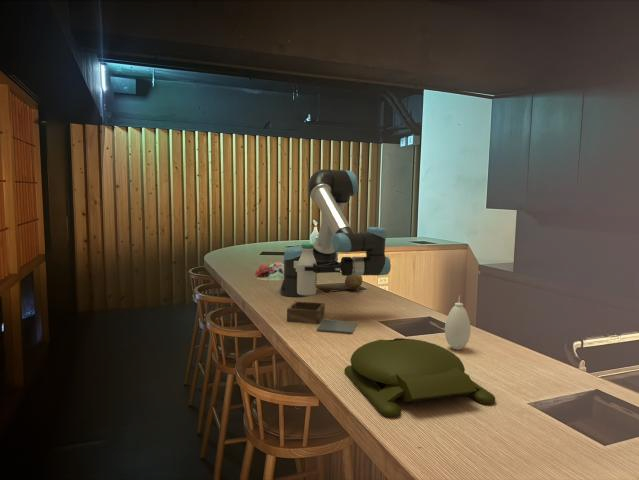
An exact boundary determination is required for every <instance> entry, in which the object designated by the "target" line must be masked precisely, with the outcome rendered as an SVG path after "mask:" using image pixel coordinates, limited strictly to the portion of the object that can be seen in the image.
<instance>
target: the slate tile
mask: <svg viewBox="0 0 639 480" xmlns="http://www.w3.org/2000/svg"><path fill="white" fill-rule="evenodd" d="M356 326H357V321H350V320H349V321H348V320H334V319H322V320H321V321H320V323H319V324H318V326H317V328H316V332H320V333H333V334H343V335H345V334H347V335H353V333H354V330H355V328H356Z"/></svg>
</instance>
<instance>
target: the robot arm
mask: <svg viewBox="0 0 639 480" xmlns="http://www.w3.org/2000/svg"><path fill="white" fill-rule="evenodd" d="M358 181H359V180H358V178H357V176H356V174H355V173H354V172H353V171H352V170H347V169H325V168H324V169H319V170H317V171H315V172H314V173H313V174H312V175H311V176H310V178H309V179H308V182H307V192H308V194H309V196H310V199H311V200H312V201H313V202H315V203H316V204H317V206H318V208H319V210H320V212H321V214H322V219H321V223H320V226H319V231H318V236H317V240H316V241H313V243H312V244H313V255H314V258H315V260H316V264H317V265H316V264H313V265H298V261H299V259H300V257H301V254H302V245H294V246H290V247H287V248H286V249H285V250H284V255H283V261H284V279H283V280H282V282H281V286H280V289H279V293H280V295H281V296H283V297H284V296H285V297H289V298H300V297H301V298H302V297H307V296H306V295H299V294H297V272H315V273H317V274H321V273H322V274H325V273H326V274H327V273H338V274H339V273H341V275H342V276H343V277H344V276H346V277H347V276H351V275H357V277H359V276H360V275H361V276H377V277H380V276H387V275H389V274H390V272H391V267H392V266H391V259H390V258H389V256H386V254H385V252H386V238H387V237H386V228H384V227H381V226H380V227H378V226H370V227H367V228H366V231H365V232H354V231H353V229H352V227H351V225H350V224H349V222H348V220H347V219H346V217H345V215H344V208H345V205H346V204H348V203H349V202H350V198H351V197H354V196H356V195H357V192H358V188H359V183H358ZM357 252H360V253H361V252H362V253H364V252H365V255H366V256H352V257H351V256H342V257H341V259H340V262H339V253H344V254H347V253H357Z"/></svg>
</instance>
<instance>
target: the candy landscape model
mask: <svg viewBox="0 0 639 480" xmlns="http://www.w3.org/2000/svg"><path fill="white" fill-rule="evenodd" d="M253 277H254V280H258V281H267V282H268V281H269V282H276V281H278V282H279V280H281V281H283V279H284V260H283V261H282V262H281V261H280V262H278V261H275V262H272V261H269V262H268V263H267V265H265V264H260V265H259V266H258V269H256V271H255V273H254V276H253Z"/></svg>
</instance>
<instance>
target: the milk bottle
mask: <svg viewBox="0 0 639 480" xmlns="http://www.w3.org/2000/svg"><path fill="white" fill-rule="evenodd" d="M301 246H302V254H301V257H300V259H299V261H298V265H313V264H316V260H315V258H314V255H313V243H307V242H306V243H305V242H304V243H302V244H301ZM316 265H317V264H316ZM317 275H318V273H315V272H297V294H299V295H306V296H305V297H308V296H313V295H316V293H317Z"/></svg>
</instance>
